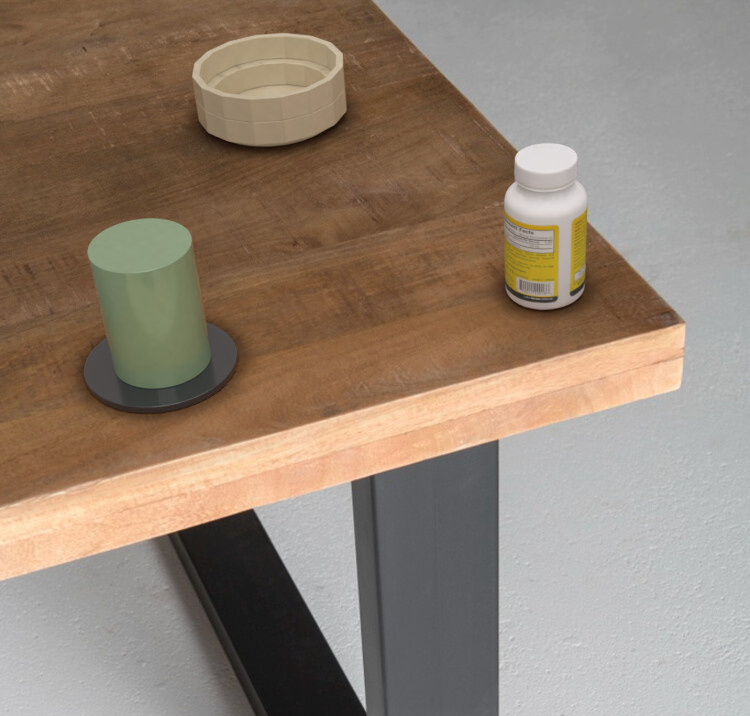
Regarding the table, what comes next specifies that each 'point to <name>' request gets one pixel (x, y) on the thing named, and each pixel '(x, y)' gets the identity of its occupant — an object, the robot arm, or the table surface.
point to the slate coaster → (163, 399)
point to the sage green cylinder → (150, 302)
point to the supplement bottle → (545, 228)
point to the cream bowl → (270, 89)
